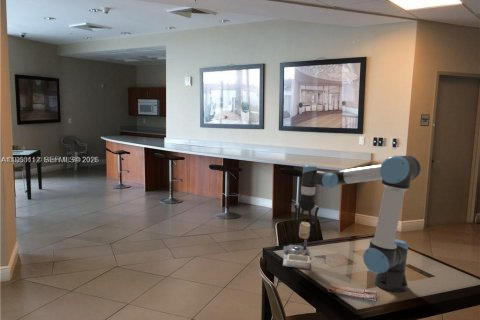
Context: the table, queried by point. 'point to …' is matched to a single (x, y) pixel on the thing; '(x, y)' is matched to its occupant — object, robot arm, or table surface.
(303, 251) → the sprocket
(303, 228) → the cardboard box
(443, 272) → the table surface
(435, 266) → the table surface
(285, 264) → the base plate
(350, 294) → the table surface
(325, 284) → the table surface
